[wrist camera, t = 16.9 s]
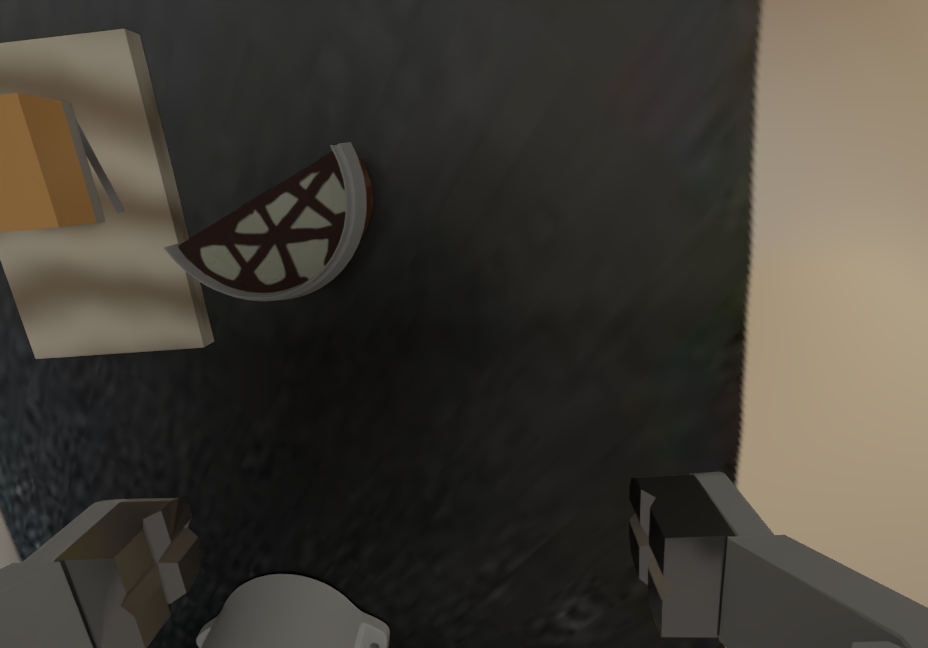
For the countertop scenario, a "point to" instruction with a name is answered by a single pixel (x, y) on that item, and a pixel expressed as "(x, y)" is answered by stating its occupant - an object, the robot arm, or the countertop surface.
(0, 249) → the birch board
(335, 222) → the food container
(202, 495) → the countertop surface
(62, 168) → the block
